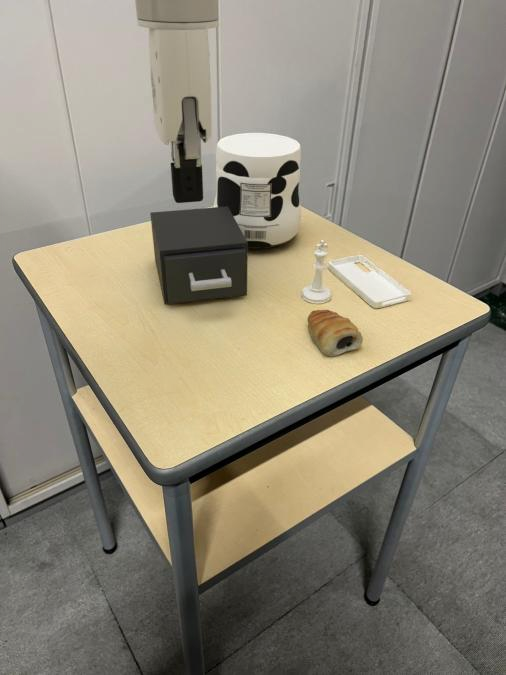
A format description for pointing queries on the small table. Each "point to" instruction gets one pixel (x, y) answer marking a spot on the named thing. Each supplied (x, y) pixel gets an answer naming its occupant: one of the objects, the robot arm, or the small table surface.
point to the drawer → (205, 275)
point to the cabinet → (194, 236)
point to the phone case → (369, 282)
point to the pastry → (333, 332)
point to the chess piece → (317, 279)
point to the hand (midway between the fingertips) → (188, 199)
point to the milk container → (260, 186)
